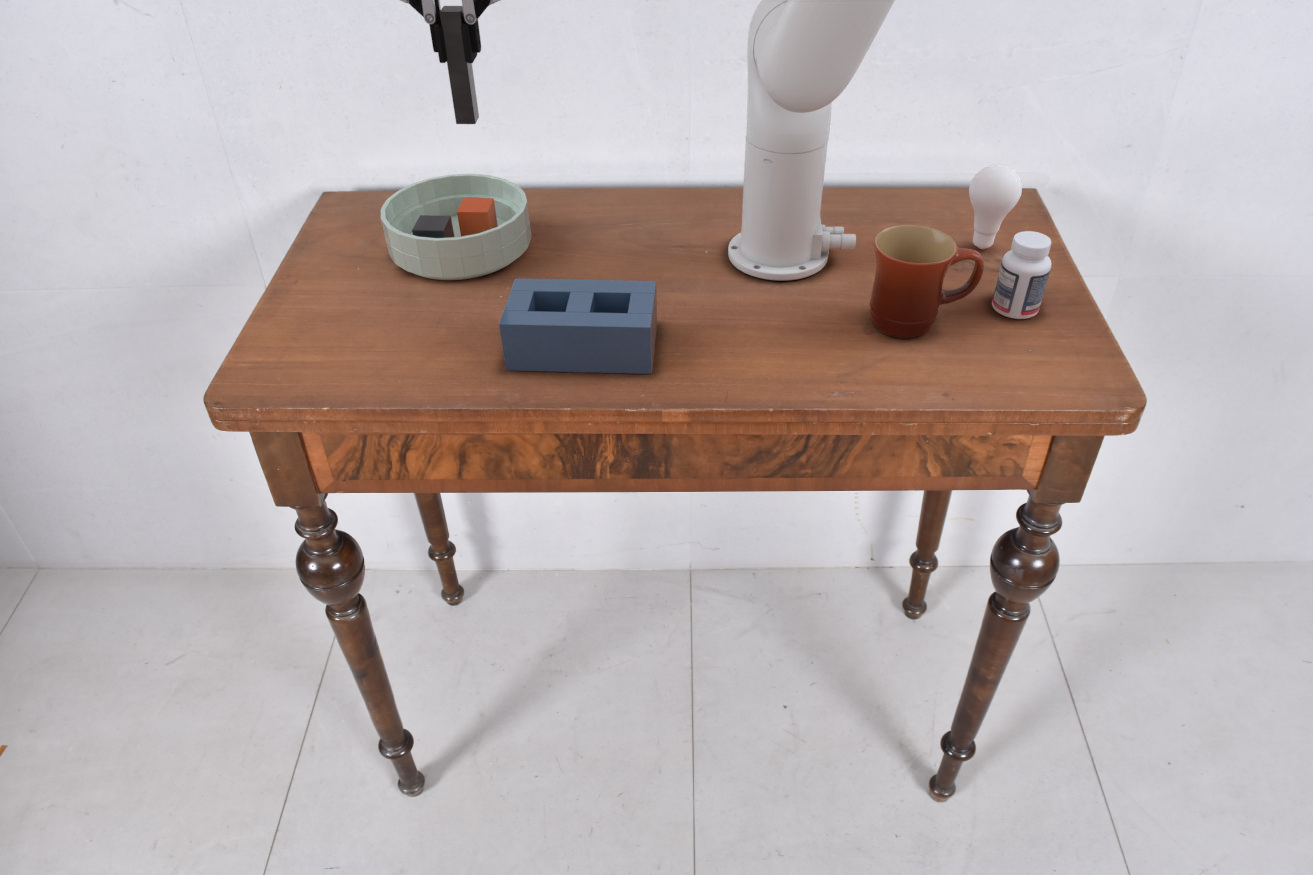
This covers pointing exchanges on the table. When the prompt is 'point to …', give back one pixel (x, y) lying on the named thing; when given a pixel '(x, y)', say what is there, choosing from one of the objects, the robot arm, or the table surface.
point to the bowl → (456, 227)
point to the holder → (580, 326)
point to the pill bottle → (1023, 276)
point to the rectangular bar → (458, 66)
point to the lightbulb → (992, 201)
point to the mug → (915, 278)
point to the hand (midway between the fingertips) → (458, 57)
